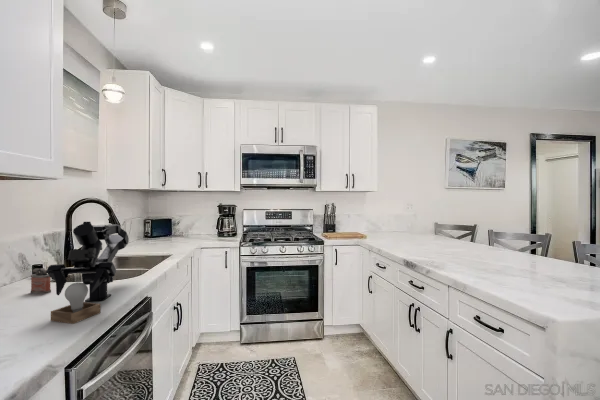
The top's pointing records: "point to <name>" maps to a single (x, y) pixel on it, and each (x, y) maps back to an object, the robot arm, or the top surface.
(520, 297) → the top surface
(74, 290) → the lightbulb
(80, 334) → the top surface
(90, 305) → the frame
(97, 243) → the robot arm
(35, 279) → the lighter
